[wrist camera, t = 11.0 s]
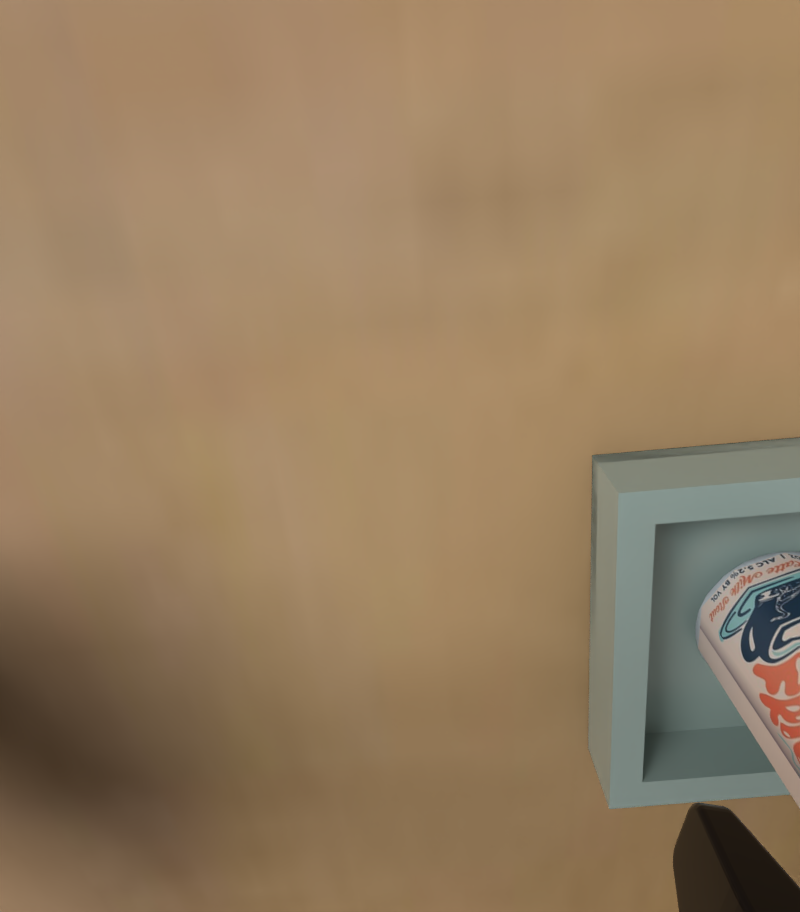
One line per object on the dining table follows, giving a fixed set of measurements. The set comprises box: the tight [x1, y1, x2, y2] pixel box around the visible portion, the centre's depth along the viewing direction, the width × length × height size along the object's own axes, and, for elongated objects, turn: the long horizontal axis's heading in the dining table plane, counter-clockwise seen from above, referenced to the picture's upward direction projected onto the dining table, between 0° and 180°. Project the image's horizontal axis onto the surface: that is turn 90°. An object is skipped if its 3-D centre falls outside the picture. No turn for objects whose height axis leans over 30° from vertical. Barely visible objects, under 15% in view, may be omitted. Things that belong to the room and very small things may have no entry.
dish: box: [588, 437, 800, 809], centre depth 23 cm, size 11×11×3 cm
